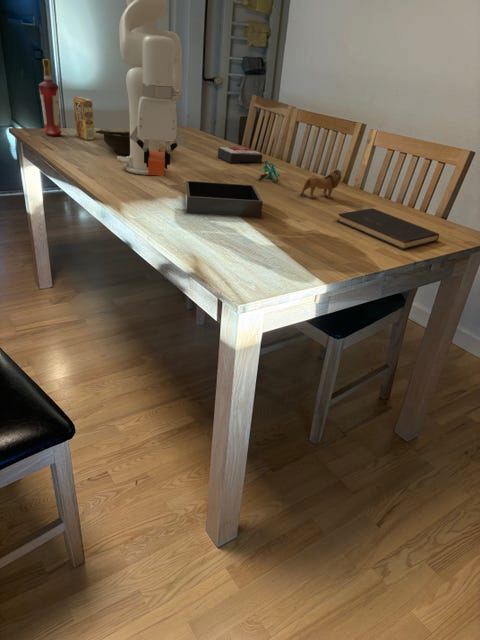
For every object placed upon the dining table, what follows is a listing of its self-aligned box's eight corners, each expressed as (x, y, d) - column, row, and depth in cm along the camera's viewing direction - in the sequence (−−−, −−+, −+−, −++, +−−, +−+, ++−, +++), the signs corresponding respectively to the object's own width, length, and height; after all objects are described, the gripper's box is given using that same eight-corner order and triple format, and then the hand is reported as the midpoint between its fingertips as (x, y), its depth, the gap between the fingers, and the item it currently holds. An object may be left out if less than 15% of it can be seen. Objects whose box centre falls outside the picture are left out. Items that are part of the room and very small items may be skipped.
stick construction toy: (284, 177, 166) (272, 158, 163) (268, 189, 165) (256, 169, 163) (273, 178, 177) (262, 160, 174) (258, 189, 176) (247, 171, 174)
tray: (186, 214, 128) (187, 196, 126) (184, 196, 142) (185, 180, 140) (260, 218, 132) (262, 201, 129) (252, 200, 146) (253, 185, 143)
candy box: (95, 139, 200) (93, 100, 192) (85, 140, 197) (83, 100, 190) (84, 135, 205) (82, 96, 197) (75, 135, 202) (72, 96, 195)
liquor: (46, 132, 202) (38, 58, 188) (64, 134, 203) (58, 60, 189) (41, 135, 195) (33, 59, 181) (60, 137, 197) (53, 61, 182)
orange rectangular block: (148, 174, 124) (148, 160, 122) (149, 164, 134) (150, 150, 132) (164, 175, 124) (164, 161, 123) (164, 165, 135) (165, 152, 133)
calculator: (263, 153, 192) (231, 151, 185) (261, 164, 194) (230, 163, 187) (249, 147, 200) (218, 145, 192) (247, 157, 202) (217, 156, 194)
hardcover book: (402, 250, 121) (405, 241, 120) (336, 221, 136) (338, 213, 135) (437, 241, 130) (440, 233, 129) (371, 215, 145) (373, 207, 144)
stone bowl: (130, 160, 173) (128, 133, 169) (82, 152, 185) (79, 127, 180) (173, 151, 192) (172, 127, 187) (127, 144, 203) (125, 121, 199)
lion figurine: (331, 193, 162) (337, 167, 158) (340, 198, 158) (346, 171, 154) (295, 195, 156) (300, 167, 152) (304, 200, 152) (309, 171, 148)
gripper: (190, 94, 124) (187, 166, 133) (124, 88, 122) (126, 161, 131) (191, 97, 118) (188, 172, 127) (122, 91, 115) (124, 167, 124)
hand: (156, 166), depth 129 cm, fingers closed on orange rectangular block, 4 cm apart
